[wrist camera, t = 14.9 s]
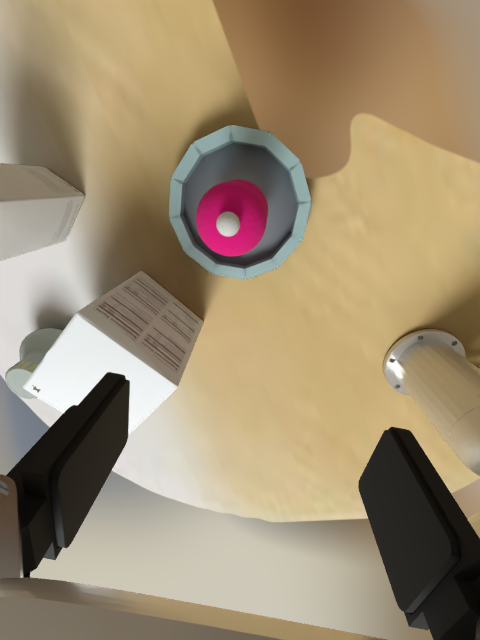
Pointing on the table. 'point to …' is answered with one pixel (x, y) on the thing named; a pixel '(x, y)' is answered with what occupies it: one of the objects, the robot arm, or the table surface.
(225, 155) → the round tray
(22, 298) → the table surface
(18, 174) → the skincare box
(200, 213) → the pepper mill
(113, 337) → the supplement box
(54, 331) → the air freshener
